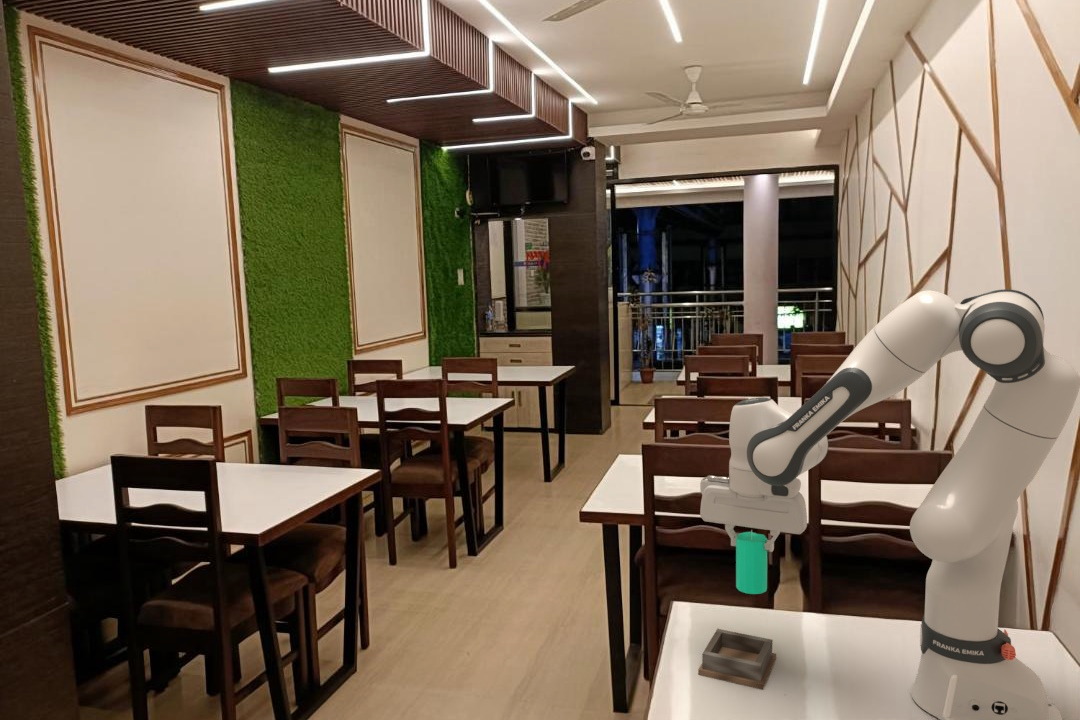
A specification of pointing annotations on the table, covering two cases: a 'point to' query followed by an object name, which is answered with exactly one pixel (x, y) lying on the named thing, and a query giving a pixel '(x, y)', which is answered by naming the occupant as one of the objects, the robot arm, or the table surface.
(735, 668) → the holder
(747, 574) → the candle
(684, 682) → the table surface
